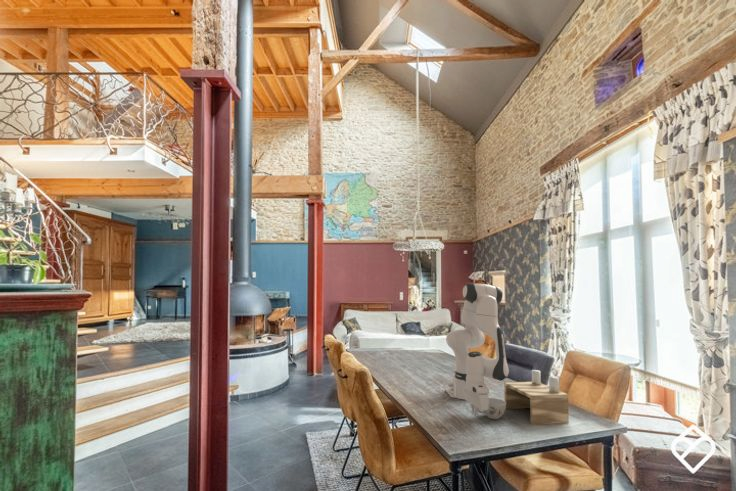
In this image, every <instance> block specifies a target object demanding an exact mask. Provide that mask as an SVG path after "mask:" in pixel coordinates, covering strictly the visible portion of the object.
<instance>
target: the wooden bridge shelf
mask: <svg viewBox="0 0 736 491" xmlns="http://www.w3.org/2000/svg"><path fill="white" fill-rule="evenodd" d="M503 390H504V401H505V402H506V409H505V410H512V409H513V410H514V409H516V410H517V409H530V410H529V411H530V413H529V414H530V424H531V425H532V426H533V425H546V424H547V425H548V424H550V425H552V424H553V425H554V424H566V423H569V422H570V421H569V418H570V416H569V415H570V413H569V394H568V393H565V391H561V390H559V393H553V392H550V391H549V385H547V384H544V383H542V382H541V385H534V384H532V381H513V382H512V381H510V382H509V381H508V382H504V388H503Z"/></svg>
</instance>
